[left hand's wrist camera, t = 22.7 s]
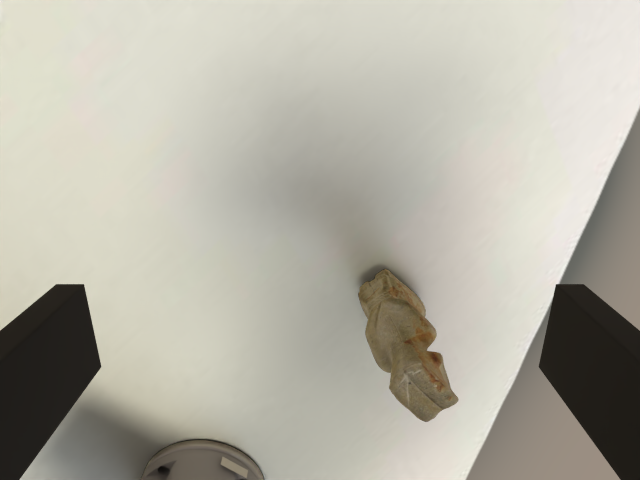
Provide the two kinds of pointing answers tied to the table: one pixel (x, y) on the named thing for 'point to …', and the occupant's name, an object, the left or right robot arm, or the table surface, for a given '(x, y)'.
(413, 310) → the sculpture
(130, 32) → the table surface
